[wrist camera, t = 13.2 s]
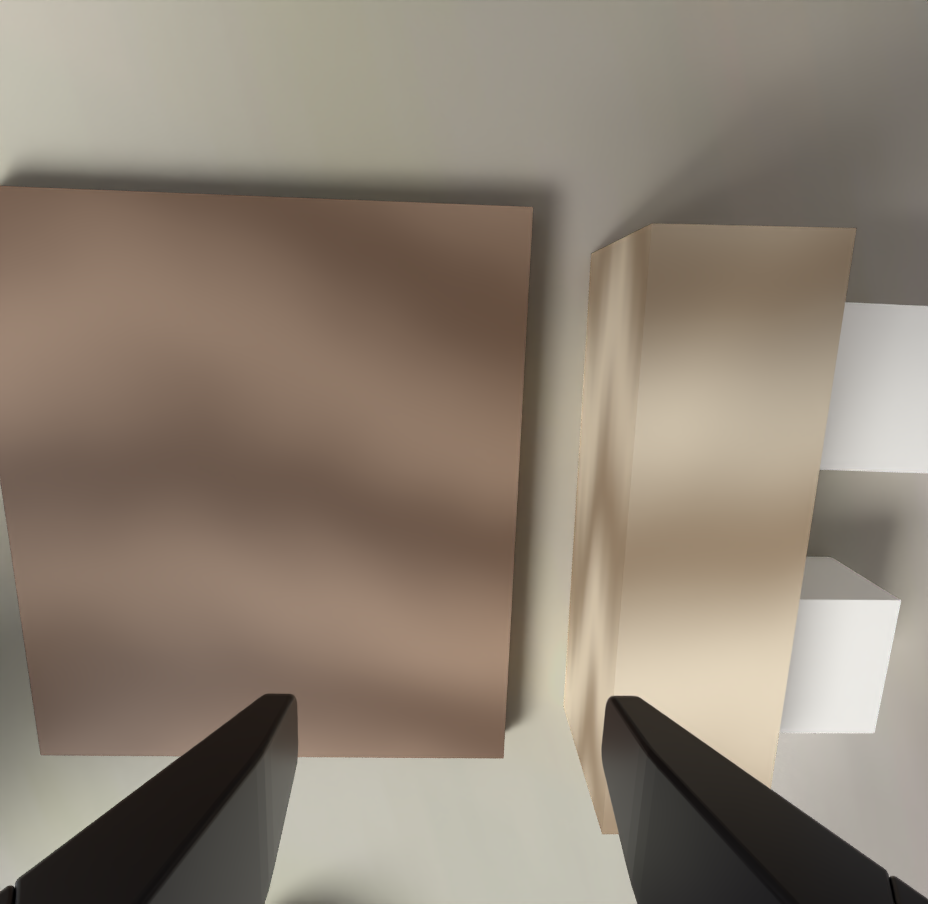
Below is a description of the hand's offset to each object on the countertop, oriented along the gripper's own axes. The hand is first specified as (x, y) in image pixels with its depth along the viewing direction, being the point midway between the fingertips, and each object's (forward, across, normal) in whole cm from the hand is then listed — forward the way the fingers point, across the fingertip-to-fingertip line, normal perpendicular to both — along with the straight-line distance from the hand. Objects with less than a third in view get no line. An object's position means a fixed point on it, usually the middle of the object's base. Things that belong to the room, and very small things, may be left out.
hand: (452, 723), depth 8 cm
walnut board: (+10, +5, 0) cm, 11 cm away
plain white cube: (+10, -10, +3) cm, 14 cm away
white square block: (+9, -10, -4) cm, 14 cm away
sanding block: (+10, -6, 0) cm, 11 cm away
